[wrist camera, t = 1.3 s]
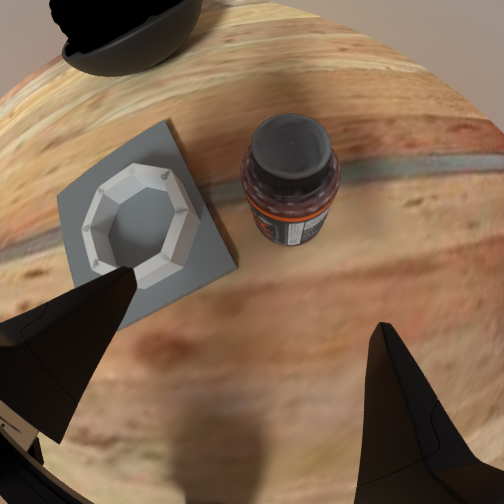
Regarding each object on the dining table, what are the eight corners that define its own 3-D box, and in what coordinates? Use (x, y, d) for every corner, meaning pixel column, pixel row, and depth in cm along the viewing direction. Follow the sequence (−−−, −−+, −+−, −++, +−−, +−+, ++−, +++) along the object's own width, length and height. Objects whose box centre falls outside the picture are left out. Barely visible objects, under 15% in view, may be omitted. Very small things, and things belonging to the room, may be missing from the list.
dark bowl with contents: (202, 11, 33) (175, -70, 14) (232, 66, 28) (196, -63, 10) (99, 57, 34) (51, -10, 15) (91, 128, 29) (6, 43, 11)
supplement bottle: (242, 205, 24) (209, 129, 13) (298, 172, 24) (303, 84, 13) (278, 262, 23) (271, 220, 12) (337, 225, 23) (374, 159, 12)
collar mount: (238, 268, 23) (228, 260, 19) (98, 341, 23) (73, 344, 19) (167, 124, 27) (153, 103, 23) (61, 198, 27) (40, 187, 24)
